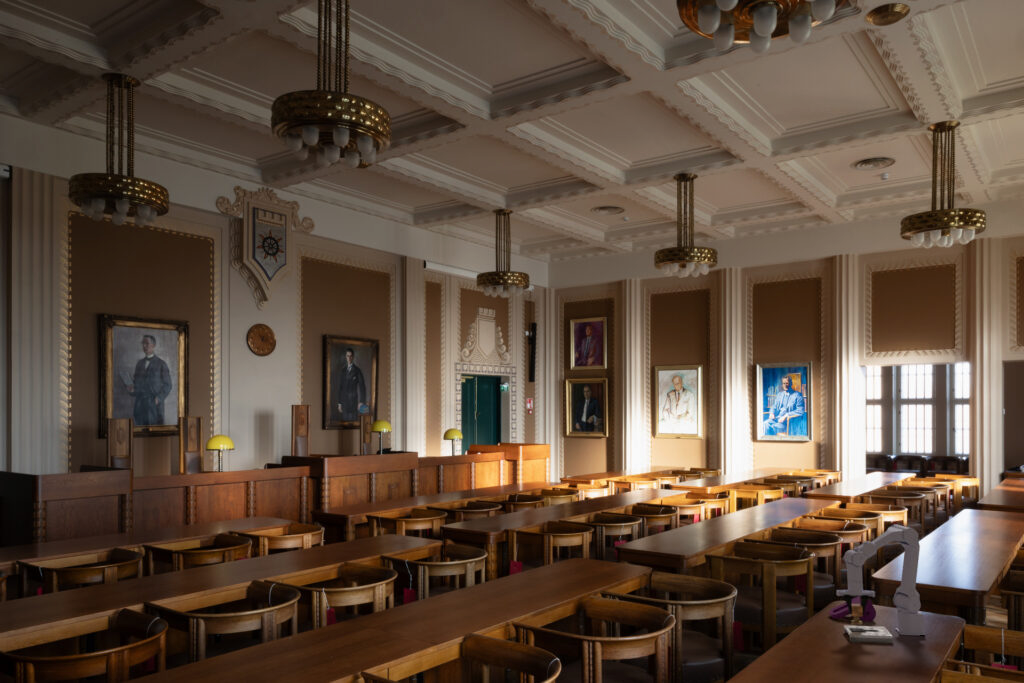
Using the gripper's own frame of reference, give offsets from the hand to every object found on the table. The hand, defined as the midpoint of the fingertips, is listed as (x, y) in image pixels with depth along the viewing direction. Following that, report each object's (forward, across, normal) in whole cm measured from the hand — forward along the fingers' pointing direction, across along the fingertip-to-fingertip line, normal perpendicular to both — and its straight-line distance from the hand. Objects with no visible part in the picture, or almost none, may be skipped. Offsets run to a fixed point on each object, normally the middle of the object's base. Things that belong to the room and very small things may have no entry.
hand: (856, 613), depth 322 cm
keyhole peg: (+4, 0, 0) cm, 4 cm away
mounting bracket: (+10, -4, -28) cm, 30 cm away
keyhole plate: (+10, -4, 0) cm, 10 cm away
